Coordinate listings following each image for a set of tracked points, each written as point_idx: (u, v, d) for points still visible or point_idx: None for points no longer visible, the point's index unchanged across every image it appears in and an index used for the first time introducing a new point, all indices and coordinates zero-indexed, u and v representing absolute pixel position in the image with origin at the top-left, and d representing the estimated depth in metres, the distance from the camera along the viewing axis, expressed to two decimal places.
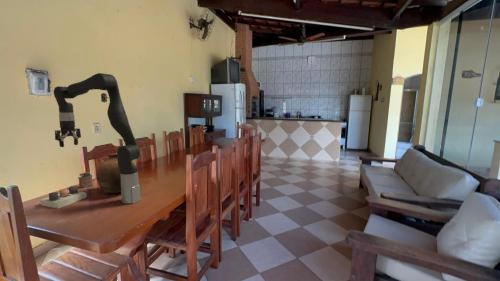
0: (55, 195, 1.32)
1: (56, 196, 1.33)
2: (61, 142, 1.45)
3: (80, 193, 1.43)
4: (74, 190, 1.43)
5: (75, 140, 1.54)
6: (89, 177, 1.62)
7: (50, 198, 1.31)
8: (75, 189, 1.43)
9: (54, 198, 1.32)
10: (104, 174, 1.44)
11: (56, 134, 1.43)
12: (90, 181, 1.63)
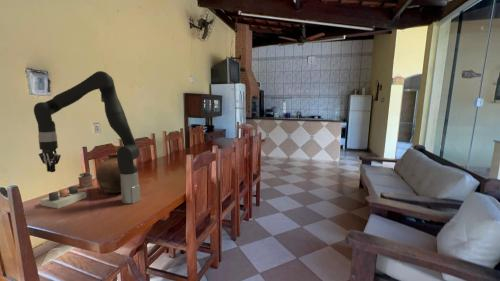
0: (55, 195, 1.32)
1: (56, 196, 1.33)
2: (54, 166, 1.31)
3: (80, 193, 1.43)
4: (74, 190, 1.43)
5: None
6: (89, 177, 1.62)
7: (50, 198, 1.31)
8: (75, 189, 1.43)
9: (54, 198, 1.32)
10: (104, 174, 1.44)
11: (57, 159, 1.29)
12: (90, 181, 1.63)
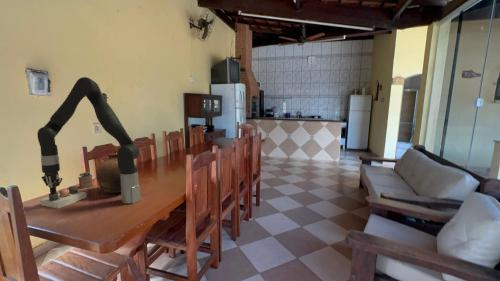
0: (55, 195, 1.32)
1: (56, 196, 1.33)
2: (55, 188, 1.33)
3: (80, 193, 1.43)
4: (74, 190, 1.43)
5: None
6: (89, 177, 1.62)
7: (50, 198, 1.31)
8: (75, 189, 1.43)
9: (54, 198, 1.32)
10: (104, 174, 1.44)
11: (58, 182, 1.31)
12: (90, 181, 1.63)
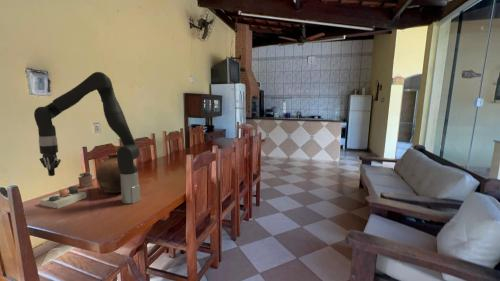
0: (55, 199, 1.33)
1: None
2: (54, 170, 1.31)
3: (80, 193, 1.43)
4: (74, 190, 1.43)
5: None
6: (89, 177, 1.62)
7: None
8: (75, 189, 1.43)
9: None
10: (104, 174, 1.44)
11: (57, 164, 1.29)
12: (90, 181, 1.63)
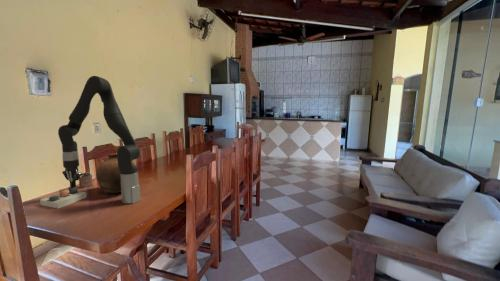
0: (55, 199, 1.33)
1: None
2: (75, 182, 1.44)
3: (80, 193, 1.43)
4: (74, 190, 1.43)
5: None
6: (89, 177, 1.62)
7: None
8: (75, 189, 1.43)
9: None
10: (104, 174, 1.44)
11: (78, 176, 1.41)
12: (90, 181, 1.63)
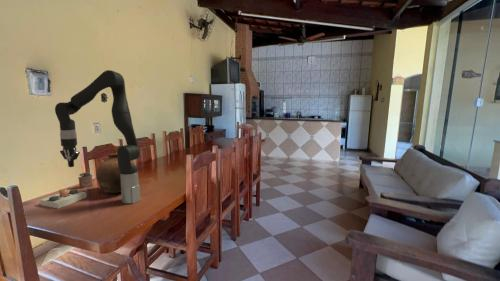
0: (55, 199, 1.33)
1: None
2: None
3: (80, 193, 1.43)
4: None
5: None
6: (89, 177, 1.62)
7: None
8: (75, 193, 1.43)
9: None
10: (104, 174, 1.44)
11: (76, 155, 1.39)
12: (90, 181, 1.63)
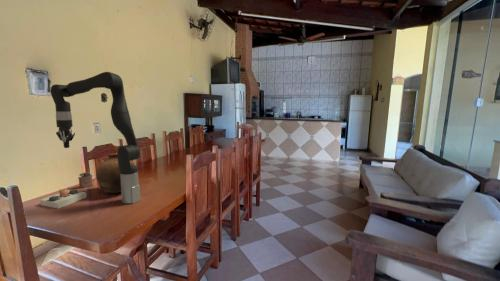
0: (55, 199, 1.33)
1: None
2: (68, 143, 1.46)
3: (80, 193, 1.43)
4: None
5: None
6: (89, 177, 1.62)
7: None
8: (75, 193, 1.43)
9: None
10: (104, 174, 1.44)
11: (71, 136, 1.44)
12: (90, 181, 1.63)
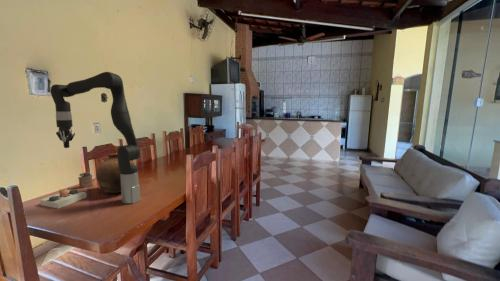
0: (55, 199, 1.33)
1: None
2: (68, 143, 1.46)
3: (80, 193, 1.43)
4: None
5: None
6: (89, 177, 1.62)
7: None
8: (75, 193, 1.43)
9: None
10: (104, 174, 1.44)
11: (71, 136, 1.44)
12: (90, 181, 1.63)
